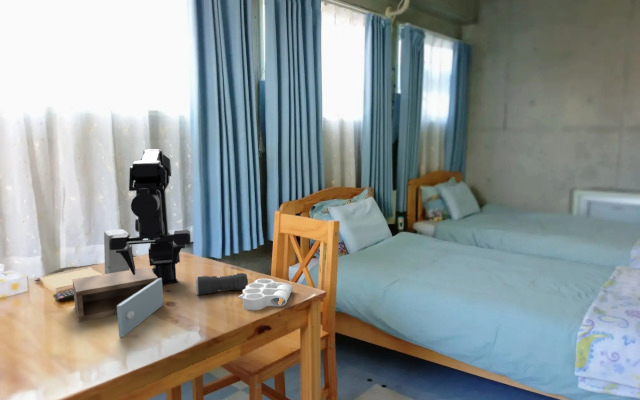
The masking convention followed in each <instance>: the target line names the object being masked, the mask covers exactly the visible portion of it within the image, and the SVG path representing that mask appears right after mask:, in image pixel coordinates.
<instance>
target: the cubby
mask: <svg viewBox="0 0 640 400" xmlns="http://www.w3.org/2000/svg"><path fill="white" fill-rule="evenodd" d="M157 279H158V277H157V276H156V275H155V274H154V273H153V272H152V268H151V269H150V267H149V266H148V267H141V268H135V275H133V273H132V272H131V270H130V269H129V270H127V271H121V272H115V273H109V274H105V273H104V274H98V275H97V274H96V275H92V276H85V277H79V278H73V279H72V289H73V290H72V291H73V299H74V307H75V312H76V315H77V320H78V322H79V323H80V322H84V321H89V320H95V319H99V318H103V317H108V316H113V315H117V305H119V304H120V303H122V302H123V301H125V300H126V299H128V298H129V297H131V296H132V295H134V294H135V293H137V292H138V291H140V290H141V289H143V288H144V287H146V286H147V285H149V284H150V283H152V282H153V281H155V280H157Z"/></svg>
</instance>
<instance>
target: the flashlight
mask: <svg viewBox="0 0 640 400" xmlns="http://www.w3.org/2000/svg"><path fill="white" fill-rule="evenodd" d="M248 283H249V279H248V275H247V273H244V272H239V273H236V274H233V275H231V274H230V275H224V276H219V277H218V276H217V275H215V276H213V275H211V276H207V275H202V276H195V288H196V290H195V292H196V295H197V296H200V295H201V296H202V295H208V294H211V293H213V294H214V293H218V291H223V292H224V291H233V290H234V291H243V290H244V289H246V286H247V285H249V284H248Z"/></svg>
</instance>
